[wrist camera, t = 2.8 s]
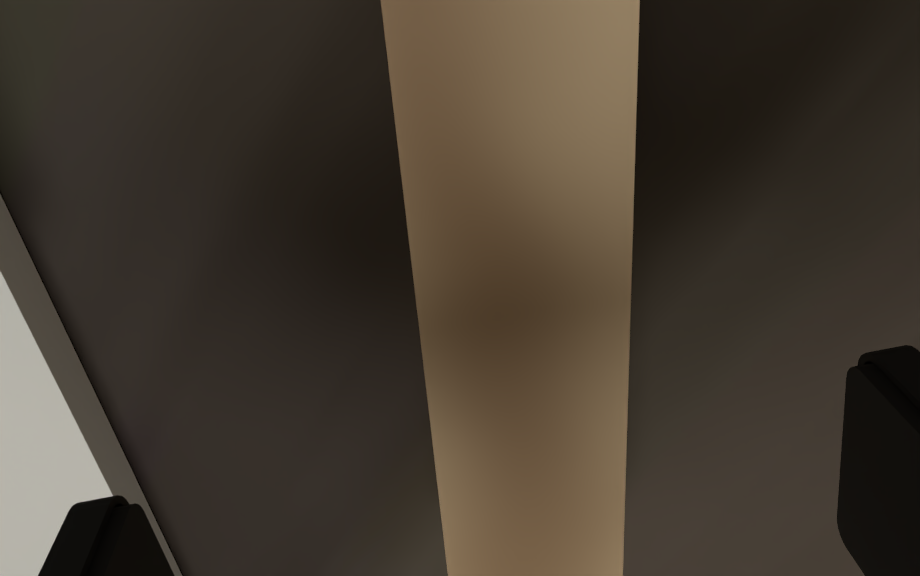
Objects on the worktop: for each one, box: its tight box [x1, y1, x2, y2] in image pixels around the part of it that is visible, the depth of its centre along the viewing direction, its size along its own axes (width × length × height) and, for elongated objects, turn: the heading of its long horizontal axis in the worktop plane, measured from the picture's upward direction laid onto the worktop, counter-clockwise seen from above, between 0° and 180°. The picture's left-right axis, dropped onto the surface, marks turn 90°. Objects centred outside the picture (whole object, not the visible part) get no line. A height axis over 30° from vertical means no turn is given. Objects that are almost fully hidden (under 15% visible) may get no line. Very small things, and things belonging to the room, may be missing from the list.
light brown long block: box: [381, 0, 640, 576], centre depth 16 cm, size 4×16×5 cm, turn 4°
